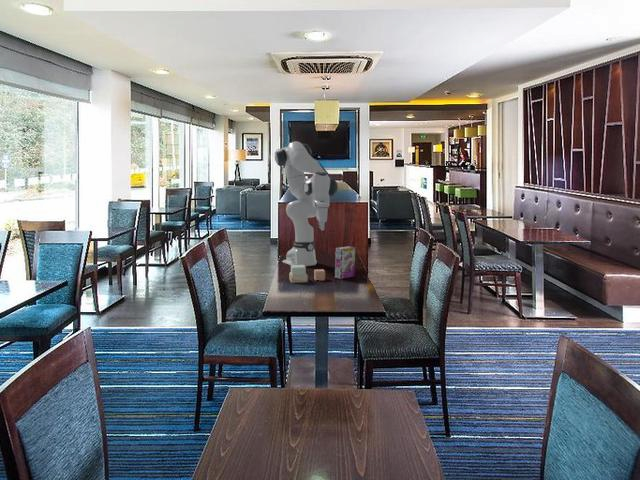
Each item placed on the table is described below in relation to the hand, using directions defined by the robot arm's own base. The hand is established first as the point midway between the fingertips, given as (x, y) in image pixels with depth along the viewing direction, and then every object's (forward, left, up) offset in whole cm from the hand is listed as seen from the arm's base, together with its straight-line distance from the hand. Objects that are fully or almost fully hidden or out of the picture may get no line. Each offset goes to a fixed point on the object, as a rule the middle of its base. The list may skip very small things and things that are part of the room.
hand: (321, 229), depth 296 cm
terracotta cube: (+1, -2, -27) cm, 27 cm away
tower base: (-4, -12, -27) cm, 30 cm away
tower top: (-4, -12, -23) cm, 26 cm away
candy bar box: (+6, +12, -27) cm, 30 cm away
